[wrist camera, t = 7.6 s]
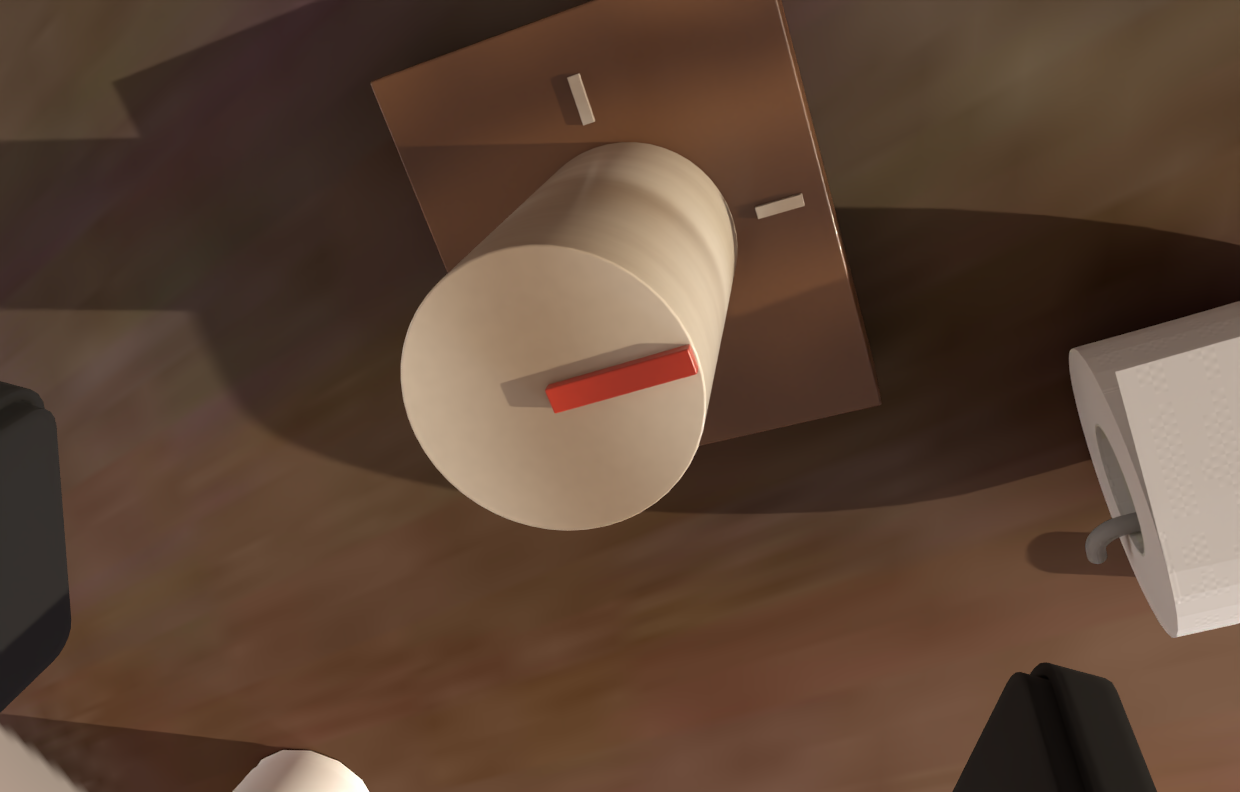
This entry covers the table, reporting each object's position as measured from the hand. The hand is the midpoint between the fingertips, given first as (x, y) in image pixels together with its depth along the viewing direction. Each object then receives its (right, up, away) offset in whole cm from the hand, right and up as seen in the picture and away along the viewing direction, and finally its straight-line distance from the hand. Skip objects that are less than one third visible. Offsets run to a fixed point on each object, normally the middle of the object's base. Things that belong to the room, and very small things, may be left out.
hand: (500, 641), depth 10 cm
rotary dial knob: (+2, +7, +21) cm, 22 cm away
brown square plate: (+2, +8, +23) cm, 25 cm away
